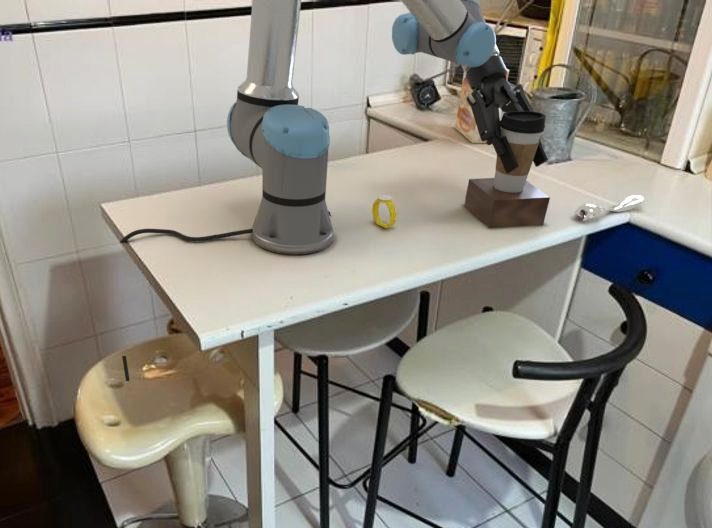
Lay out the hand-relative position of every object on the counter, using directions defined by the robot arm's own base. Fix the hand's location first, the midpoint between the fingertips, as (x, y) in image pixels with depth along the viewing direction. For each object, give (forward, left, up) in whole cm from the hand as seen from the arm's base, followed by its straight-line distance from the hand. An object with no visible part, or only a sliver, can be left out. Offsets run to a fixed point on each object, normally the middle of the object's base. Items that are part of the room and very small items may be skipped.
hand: (527, 166), depth 129 cm
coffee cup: (-1, +3, -6) cm, 7 cm away
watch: (-28, +1, -12) cm, 31 cm away
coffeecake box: (+18, +58, -12) cm, 62 cm away
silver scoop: (+23, +2, -12) cm, 26 cm away
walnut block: (-1, +3, -12) cm, 12 cm away
